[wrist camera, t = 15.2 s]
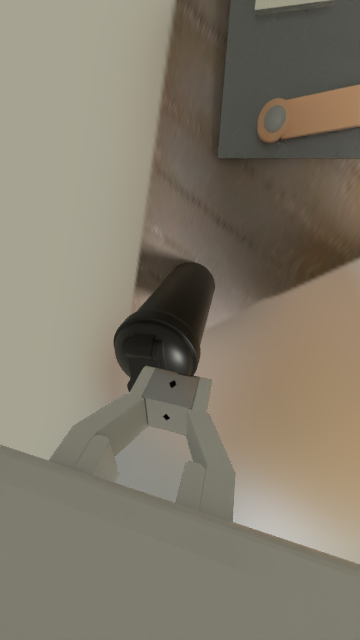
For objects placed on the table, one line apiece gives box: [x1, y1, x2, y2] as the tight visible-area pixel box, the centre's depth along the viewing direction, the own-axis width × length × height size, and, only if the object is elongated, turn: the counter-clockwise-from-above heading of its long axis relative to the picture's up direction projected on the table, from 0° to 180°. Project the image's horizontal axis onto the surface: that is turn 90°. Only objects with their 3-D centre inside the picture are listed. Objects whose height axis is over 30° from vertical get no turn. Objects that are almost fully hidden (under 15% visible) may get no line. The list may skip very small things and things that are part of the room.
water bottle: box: [114, 263, 215, 392], centre depth 33 cm, size 10×10×23 cm
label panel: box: [218, 0, 360, 159], centre depth 22 cm, size 24×20×3 cm
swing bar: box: [257, 84, 360, 144], centre depth 23 cm, size 17×3×5 cm, turn 97°
